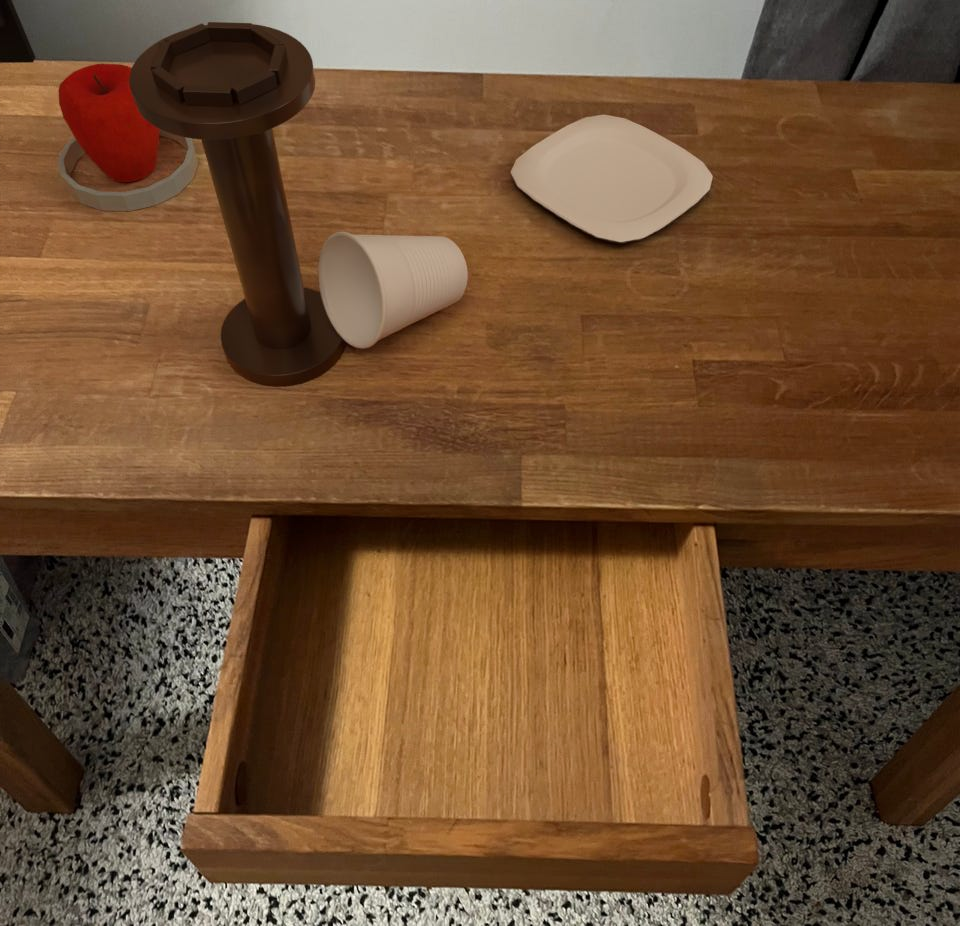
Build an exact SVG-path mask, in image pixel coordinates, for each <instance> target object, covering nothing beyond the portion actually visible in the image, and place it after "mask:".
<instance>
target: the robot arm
mask: <svg viewBox="0 0 960 926" xmlns="http://www.w3.org/2000/svg"><path fill="white" fill-rule="evenodd" d="M35 59H36V55H35V52H34V50H33V48H32V46H31V43H30V40H29V38H28V36H27V34H26V32H25V29H24V27H23V24H22V22H21V19H20V17H19V14H18V12H17V9H16V7H15V5H14V2H13V0H0V64H10V63H13V64H16V63H19V64H20V63H28V64H29V63H34V62H35Z"/></svg>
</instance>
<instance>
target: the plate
mask: <svg viewBox="0 0 960 926" xmlns="http://www.w3.org/2000/svg"><path fill="white" fill-rule="evenodd" d="M510 176H511V177H512V180H513V181H514V184H515V185H516V187H517V189H519V190H520V191H521V192H522V193H524V194H525V195H526V196H527V197H528V198H530V200H532V201H533V202H535V203H536V204H537V205H538V206H540V207H542V208H544V209H545V210H547V211H548V212H550V213H551V214H552V215H554V216H556V217H558V218H559V219H561V220H562V221H564V222H566V223H567V224H569V225H570V226H572V227H574V228H575V229H577V230H579V231H581V232H583V233H585V234H587V235H589V236H591V237H593V238H595V239H597V240H601V241H605V242H611V243H617V244H626V243H630V242H631V243H632V242H637V241H641V240H645V239H646V238H648V237H650V236H652V235H654V234H656V233H657V232H659V231H661V230H663V229H665V228H666V227H667V226H669V225H670V224H671V223H673V222H674V221H676V220H677V219H678V218H680V217H681V216H682V215H683V214H685V213H686V212H688V211H689V210H691V209H692V208H694V206H696V205H697V204H698V203H699V202H700V201H701V200H702V199H703V198H704V197H705V196H706V195H707V194H708V193H709V192H710V190H711V186H712V182H713V177H714V176H713V174H712V172H711V171H710V169H709V168H708V166H707V165H706V163H704V162H703V161H702V160H700V159H699V158H698V157H696V156H695V155H694V154H692V153H691V152H689V151H688V150H686V149H685V148H683V147H682V146H680V145H679V144H676V143H675V142H673V141H671V140H669V139H668V138H665V137H664V136H662V135H660V134H658V133H656V132H655V131H653V130H652V129H649V128H647V127H645V126H643V125H641V124H639V123H637V122H634V121H631V120H629V119H627V118H625V117H620V116H614V115H609V114H599V115H598V114H597V115H592V116H586V117H583V118H580V119H578V120H576V121H574V122H572V123H569V124H567V125H565V126H564V127H562V128H560V129H558V130H556V131H555V132H553V133H552V134H550V135H548V136H546V137H545V138H544V139H542V140H541V141H540V140H539V142H537V143H535V144H534V145H533V146H531V147H530V148H529V149H527V150H526V151H525V152H523V153H522V154H521V155H519V157H517V158H516V159H515V161H514V164H513V166H512V168H511V170H510Z"/></svg>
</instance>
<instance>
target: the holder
mask: <svg viewBox="0 0 960 926" xmlns="http://www.w3.org/2000/svg"><path fill="white" fill-rule="evenodd" d="M131 68H132V69H131V72H130V76H129V85H130V90H131V93H132V96H133V99H134V102H135V104H136V107H137V109H138V111H139V112H140V114H141V115H142V116H143V117H144V118H145V119H146V120H147V121H148V122H149V123H151V124H152V125H154V126H155V127H157V128H159V129H161V130H163V131H165V132H168V133H171V134H174V135H177V136H181V137H186V138H191V140H192V139H193V140H201V144H202V147H203V151H204V154H205V159H206V161H207V166H208V169H209V173H210V176H211V180H212V183H213V187H214V191H215V194H216V198H217V202H218V205H219V209H220V213H221V216H222V219H223V223H224V227H225V230H226V231H225V232H226V234H227V238H228V241H229V245H230V249H231V253H232V256H233V260H234V263H235V267H236V270H237V274H238V278H239V282H240V286H241V289H242V292H243V295H244V299H242V300H240V301H239V302H238V303H237V304H235V306H233V308H231V310H230V311H229V312H228V313H227V315H226V316H225V318H224V320H223V323H222V325H221V330H220V343H221V346H222V350H223V353H224V356H225V358H226V362H227V363H228V365H229V366H230V367H231V368H232V370H234V372H235V373H236V374H238V375H239V376H241V377H242V378H244V379H245V380H248V381H250V382H252V383H255V384H258V385H260V386H261V385H262V386H266V387H267V386H268V387H289V386H290V387H291V386H296V385H301V384H303V383H307V382H310V381H312V380H314V379H316V378H319V377H320V376H322V375H324V374H325V373H326V372H327V371H329V370H330V369H332V367H333V366H334V365H335V364H336V363H337V362H338V361H339V360H340V358H341V356H342V355H343V353H344V351H345V349H346V344H347V342H346V341H345V340H343V339H342V337H341V336H340V335H339V334H338V333H337V331H336V330H335V328H334V327H333V325H332V324H331V322H330V320H329V318H328V316H327V313H326V311H325V308H324V305H323V302H322V298H321V294H320V291H319V290H315V289H312V288H309V287H305V285H304V282H303V276H302V272H301V266H300V261H299V257H298V251H297V246H296V242H295V237H294V236H295V235H294V231H293V226H292V220H291V216H290V209H289V207H288V201H287V196H286V190H285V185H284V180H283V175H282V170H281V166H280V161H279V160H280V159H279V155H278V150H277V145H276V140H275V135H274V128H277V127H279V126H281V125H283V124H284V123H287V122H288V121H290V120H292V118H294V117H295V116H297V115H298V114H299V113H300V112H301V111H302V110H303V109H304V108H305V107H306V106H307V105H308V104H309V102H310V100H311V98H312V97H313V95H314V91H315V88H316V76H315V68H314V62H313V58H312V55H311V53H310V51H309V50H308V49H307V47H305V45H304V44H303V43H302V42H301V41H299V40H298V39H297V38H296V37H294V36H292V35H291V34H289V33H287V32H284V31H282V30H279V29H277V28H273V27H270V26H266V25H262V24H257V23H255V24H254V23H251V22H228V21H227V22H224V21H222V22H220V21H208V22H207V24H204V23H199V24H197V25H194V26H192V27H190V28H187V29H183V30H181V31H178V32H175V33H173V34H170V35H168V36H166V37H164V38H162V39H160V40H158V41H157V42H155V43H153V44H152V45H150V46H149V47H148V48H147V49H145V50H144V51H143V52H142V53H141V54H140V55H139V56H138V58H137V59H136V60H135V61H134V63H133V65H132V67H131Z"/></svg>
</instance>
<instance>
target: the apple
mask: <svg viewBox="0 0 960 926" xmlns="http://www.w3.org/2000/svg"><path fill="white" fill-rule="evenodd" d="M131 69H132V67H131V66H128V65H124V64H122V63H95V64H91V65H87V66H84V67H81V68H79V69H77V70H75V71H73V72H71V73H70V74H69V75H68V76H67V77H65V78H64V79H63V80H62V81H61V82H60V84H59V87H58V105H59V108H60V111H61V114H62V118H63V119H64V121H65V123H66V125H67V127H68V128H69V130H70V132H71V133H72V135H73V137H75V139H76V140H77V142H78V143H79V144H80V146H81V147H82V149H83V150H84V152H85V155H86V156H87V157H88V158H89V159H90V160H91V161H92V162H93V163H94V165H95V166H96V167H98V169H99V170H100V171H101V172H102V173H104V174H105V175H106V176H107V177H109V178H110V179H111V180H113V181H115V182H121V183H131V182H136V181H139V180H142V179H144V178H146V177H148V176H149V175H151V174H152V173H153V171H154V170H155V168H156V167H157V161H158V156H159V146H160V135H159V128H157V127H155V126H154V125H152V124H151V123H149V122H148V121H147V120H146V119H145V118H144V117H143V116H142V115H141V114H140V112H139V111H138V109H137V107H136V104H135V102H134V99H133V96H132V93H131V90H130V85H129V76H130V72H131Z"/></svg>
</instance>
